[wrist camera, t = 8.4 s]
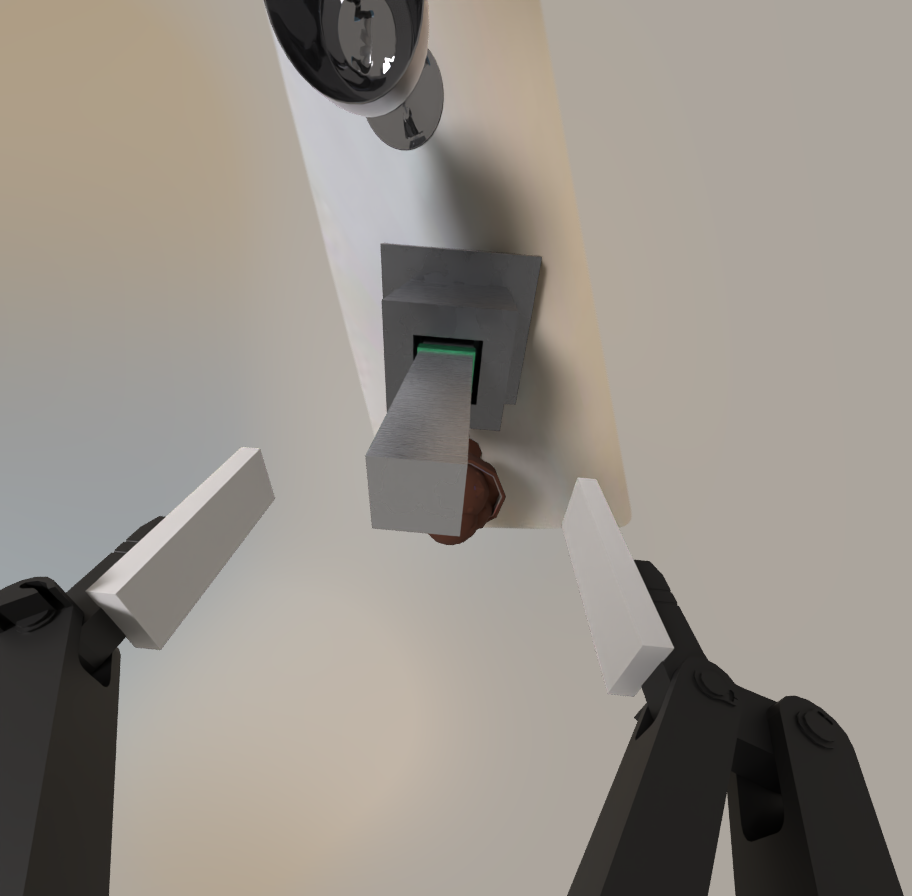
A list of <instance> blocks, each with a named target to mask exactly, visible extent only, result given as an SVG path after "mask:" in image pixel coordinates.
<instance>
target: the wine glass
mask: <svg viewBox="0 0 912 896" xmlns="http://www.w3.org/2000/svg"><path fill="white" fill-rule="evenodd" d="M264 3H265V6H266V9H267V13H268V16H269V19H270V22H271V25H272V27H273V30H274V32H275V34H276V37H277V39H278V41H279V43H280V45H281V47H282V48H283V50H284V52H285V54H286V56H287V57H288V59H289V60H290V62H291V63H292V64H293V66H294V67H295V68H296V70H297V71H298V72H299V73H300V75H301V76H302V77H303V78H304V79H305V80H306V81H307V82H308V83H309V84H310V85H311V86H312V87H313V88H314V89H315V90H316V91H318V92H319V93H320V94H321V95H323V96H324V97H325V98H327V99H328V100H329V101H331V102H332V103H334V104H335V105H336V106H338V107H339V108H341V109H344V110H346V111H348V112H350V113H353V114H356V115H360V116H364V117H366V118H367V121H368V122H369V124H370V126H371V128H372V129H373V131H374V132H375V134H376V135H377V136H378V137H379V138H380V139H381V140H382V141H383V142H385V143H386V144H387V145H389V146H391V147H393V148H396V149H400V150H409V149H414V148H416V147H418V146H420V145H422V144H423V143H424V142H426V141H427V140H428V139H429V137H430V136H431V135H432V134H433V132H434V130H435V129H436V127H437V124H438V122H439V120H440V116H441V112H442V106H443V84H442V78H441V74H440V70H439V67H438V65H437V63H436V60H435V58H434V57H433V55H432V53H431V52H430V50H429V49H428V39H429V5H428V0H264Z"/></svg>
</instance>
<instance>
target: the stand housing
mask: <svg viewBox="0 0 912 896" xmlns="http://www.w3.org/2000/svg"><path fill="white" fill-rule="evenodd" d="M541 260H542V257H541V256H533V255H521V254H509V253H497V252H485V251H473V250H461V249H449V248H436V247H424V246H412V245H400V244H388V243H382V244H381V264H382V287H383V299H382V317H383V339H384V360H385V382H386V403H387V412H388V410H389V408H390V406H391V405H392V403H393V401H394V399H395V397H396V395H397V393H398V391H399V389H400V387H401V385H402V383H403V381H404V379H405V377H406V375H407V373H408V371H409V369H410V367H411V365H412V363H413V361H414V360H415V358H416V356H417V348H418V346H419V344H420V343H423V342H424V340H425V338H426V336H434V337H445V338H457V339H469V340H474V348H476V350H475V362H474V372H473V382H472V392H471V406H470V426H469V428H472V429H484V430H495V431H500V426H501V419H502V413H503V407H504V404H516V399H517V393H518V387H519V382H520V376H521V371H522V365H523V360H524V354H525V349H526V343H527V337H528V332H529V326H530V321H531V315H532V310H533V304H534V299H535V293H536V287H537V282H538V276H539V271H540V265H541Z"/></svg>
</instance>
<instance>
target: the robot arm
mask: <svg viewBox="0 0 912 896" xmlns="http://www.w3.org/2000/svg"><path fill="white" fill-rule="evenodd" d="M274 499H275V497H274V493H273V490H272V487H271V483H270V480H269V477H268V473H267V470H266V467H265V463H264V460H263V457H262V453H261V450H260V449H258V448H248V447H241V448H240V449H239V450H238V451H237V452H236V453H235V454H234V455H233V456H231V457H230V458H229V459H228V460H227V461H226V462H225V463H224V464H223V465H222V466H221V467H219V468H218V469H217V470H216V471H215V472H214V473H213V474H212V475H211V476H210V477H209V478H208V479H206V480H205V481H204V482H203V483H202V484H201V485H200V486H199V487H198V488H197V489H196V490H195V491H193V492H192V493H191V494H190V495H189V496H188V497H187V498H186V499H185V500H184V501H183V502H182V503H181V504H179V505H178V506H177V507H176V508H175V509H174V510H173V511H172V512H171V513H170V514H169V515H167V516H166V517H162V516H159V517H157V518H155V519H154V520H152V521H150V522H148V523H147V524H145V525H143V526H141V527H140V528H139V529H138V530H137V531H136V532H134V533H133V534H132V535H131V536H130V537H129V538H128V539H127V540H126V542H123V543H122V544H121V545H120V546H118V547H117V549H115V551H114V553H111V554H110V555H108V556H107V557H106V558H105V559H104V560H103V561H102V562H100V563H99V564H98V565H97V566H96V567H95V568H94V569H92V570H91V571H90V572H89V573H88V574H87V575H86V576H85V577H83V578H82V579H81V580H80V581H79V582H78V583H77V584H75V585H74V586H73V587H72V588H71V589H70V590H69V591H68V592H66V593H65V592H64V591H63V590H62V588H60V586H59V585H58V584H57V583H56V582H55V581H54V580H52V579H50V578H48V577H34V578H30V579H25V580H22V581H19V582H17V583H14V584H12V585H10V586H7V587H5V588H4V589H2V590H0V896H109V883H110V882H109V880H110V862H111V840H112V820H113V799H114V780H115V760H116V739H117V719H118V718H117V717H118V699H119V677H120V658H121V655H120V651H119V649H118V648H117V646H118V645H119V644H120V643H121V642H122V641H123V639H124V638H125V637H126V638H127V639H128V640H129V641H130V642H131V643H132V644H133V646H134V647H136V648H146V649H156V650H161V649H162V648H163V646H164V645H165V644H166V642H167V641H168V640H169V638H170V637H171V636H172V634H173V633H174V632H175V630H176V629H177V628H178V626H179V625H180V624H181V622H182V621H183V620H184V619H185V617H186V616H187V615H188V613H189V612H190V611H191V609H192V608H193V607H194V605H195V604H196V603H197V601H198V600H199V598H200V597H201V596H202V595H203V593H204V592H205V591H206V589H207V588H208V587H209V585H210V584H211V583H212V581H213V580H214V579H215V578H216V576H217V575H218V574H219V572H220V571H221V570H222V568H223V567H224V566H225V564H226V563H227V562H228V560H229V559H230V557H231V556H232V555H233V554H234V552H235V551H236V550H237V548H238V547H239V546H240V544H241V543H242V542H243V541H244V539H245V538H246V537H247V535H248V534H249V532H250V531H251V530H252V529H253V527H254V526H255V524H256V523H257V522H258V521H259V519H260V518H261V517H262V515H263V514H264V513H265V511H266V510H267V509H268V507H269V506H270V505H271V503H272V502H273V501H274ZM562 529H563V533H564V536H565V540H566V544H567V547H568V551H569V554H570V558H571V562H572V566H573V569H574V573H575V577H576V580H577V584H578V588H579V591H580V595H581V599H582V602H583V606H584V610H585V613H586V617H587V621H588V624H589V628H590V632H591V635H592V639H593V643H594V647H595V650H596V654H597V658H598V661H599V665H600V668H601V672H602V676H603V680H604V683H605V686H606V690H607V694H611V695H622V696H632V697H634V696H635V695H636V694H637V692H638V691H639V690H640V689H641V688H642V690H643V693H644V695H645V698H646V701H647V703H646V704H645V705H644V706H643V708H642V709H641V710H640V711H639V712H638V713H637V715H636V716H635V717H634V718H635V719H636V720H637V721H638V722H637V724H636V727H635V729H634V732H633V734H632V737H631V739H630V742H629V744H628V747H627V749H626V752H625V754H624V757H623V759H622V761H621V764H620V766H619V769H618V772H617V774H616V776H615V779H614V781H613V784H612V786H611V789H610V791H609V794H608V796H607V799H606V801H605V804H604V806H603V809H602V811H601V813H600V816H599V818H598V821H597V823H596V826H595V828H594V831H593V833H592V836H591V838H590V841H589V843H588V846H587V848H586V850H585V853H584V856H583V858H582V860H581V863H580V865H579V868H578V870H577V873H576V875H575V878H574V880H573V883H572V885H571V887H570V890H569V892H568V895H567V896H708V891H709V886H710V880H711V875H712V869H713V864H714V859H715V853H716V848H717V842H718V837H719V831H720V826H721V821H722V816H723V810H724V804H725V799H726V794H728V807H729V819H730V831H731V844H732V857H733V869H734V881H735V894H736V896H904V895H903V892H902V889H901V886H900V883H899V881H898V878H897V875H896V872H895V869H894V866H893V863H892V860H891V857H890V854H889V851H888V848H887V845H886V842H885V839H884V836H883V833H882V830H881V827H880V824H879V821H878V818H877V816H876V812H875V810H874V807H873V804H872V801H871V798H870V795H869V792H868V789H867V786H866V783H865V780H864V777H863V774H862V771H861V768H860V765H859V762H858V759H857V756H856V753H855V751H854V748H853V746H852V744H851V742H850V740H849V738H848V736H847V734H846V733H845V732H844V730H843V729H842V728H841V727H840V726H839V725H838V723H837V722H836V721H835V720H834V719H833V718H832V717H831V716H829V715H828V714H827V713H826V712H825V711H824V710H823V709H822V708H820V707H818V706H816V705H815V704H814V703H812V702H810V701H808V700H806V699H803V698H800V697H798V696H786V697H784V698H783V699H781V700H780V701H779V702H775V701H773V700H771V699H768V698H766V697H763V696H761V695H758V694H756V693H754V692H751V691H749V690H746V689H744V688H742V687H740V686H738V685H736V684H735V683H734V682H733V681H732V679H731V678H730V677H729V676H728V674H726V673H725V672H724V671H723V670H722V669H720V668H719V667H718V666H717V665H716V664H714V663H712V662H710V661H708V659H707V658H706V656H705V654H704V653H703V651H702V649H701V647H700V645H699V643H698V641H697V640H696V638H695V636H694V634H693V632H692V630H691V628H690V626H689V624H688V622H687V621H686V619H685V617H684V615H683V613H682V611H681V609H680V607H679V606H677V601H676V600H675V598H674V596H673V594H672V593H671V592H670V588H669V586H668V584H667V582H666V580H665V578H664V577H663V575H662V574H661V573H660V572H659V571H658V570H657V568H656V567H655V566H654V565H653V564H652V563H651V562H650V561H641V560H633V558H632V556H631V553H630V551H629V549H628V547H627V545H626V543H625V540H624V538H623V536H622V534H621V532H620V529H619V527H618V525H617V523H616V521H615V519H614V516H613V514H612V512H611V510H610V508H609V506H608V503H607V501H606V499H605V497H604V495H603V492H602V490H601V488H600V486H599V484H598V482H597V479H590V478H579V477H578V478H577V481H576V483H575V486H574V489H573V492H572V495H571V498H570V501H569V504H568V507H567V510H566V513H565V516H564V519H563V522H562Z"/></svg>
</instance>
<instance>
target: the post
mask: <svg viewBox="0 0 912 896" xmlns="http://www.w3.org/2000/svg"><path fill="white" fill-rule="evenodd" d="M475 350H476V348H474V340H469V339H457V338H445V337H434V336H426V338H425V340H424V342H423V343H420V344H419V346H418V348H417V356H416V358H415V360H414V361H413V363H412V365H411V367H410V369H409V371H408V373H407V375H406V377H405V379H404V381H403V383H402V385H401V387H400V389H399V391H398V393H397V395H396V397H395V399H394V401H393V403H392V405H391V406H390V408H389V410H388V412H387V414H386V416H385V418H384V420H383V422H382V424H381V426H380V428H379V430H378V432H377V434H376V436H375V438H374V440H373V442H372V444H371V446H370V448H369V450H368V452H367V454H366V466H367V478H368V489H369V499H370V511H371V522H372V528H375V529H385V530H396V531H407V532H418V533H428V534H438V535H449V536H460V530H461V521H462V511H463V502H464V492H465V483H466V474H467V464H468V445H469V426H470V406H471V392H472V382H473V372H474V362H475Z"/></svg>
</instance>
